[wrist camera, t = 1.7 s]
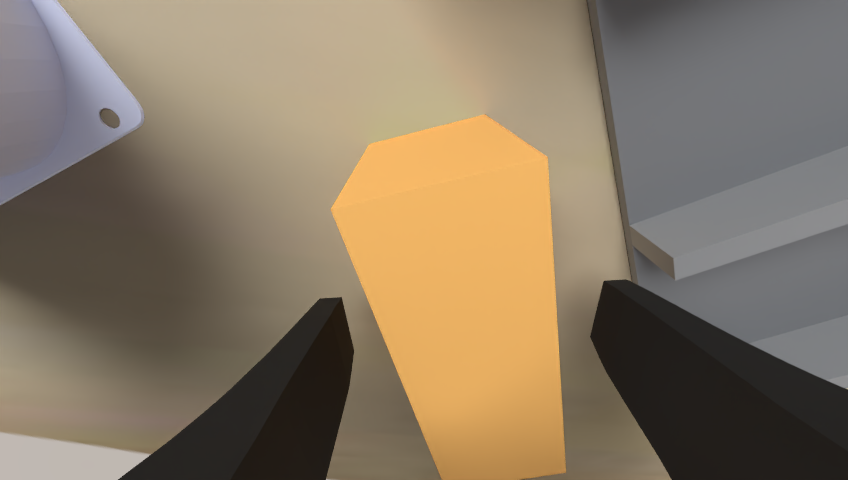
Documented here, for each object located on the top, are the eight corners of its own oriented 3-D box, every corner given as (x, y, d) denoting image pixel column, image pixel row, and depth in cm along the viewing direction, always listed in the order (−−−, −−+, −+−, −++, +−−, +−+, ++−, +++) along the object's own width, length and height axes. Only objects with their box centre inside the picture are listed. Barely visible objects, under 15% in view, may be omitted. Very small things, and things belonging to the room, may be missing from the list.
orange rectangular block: (516, 338, 13) (565, 472, 9) (436, 354, 14) (446, 490, 9) (484, 113, 9) (547, 156, 5) (369, 143, 9) (330, 209, 5)
